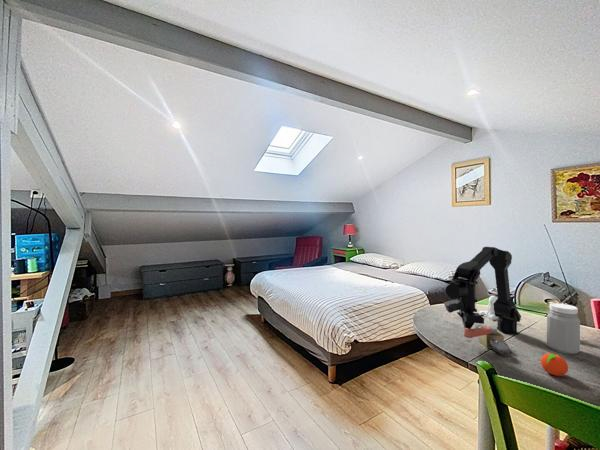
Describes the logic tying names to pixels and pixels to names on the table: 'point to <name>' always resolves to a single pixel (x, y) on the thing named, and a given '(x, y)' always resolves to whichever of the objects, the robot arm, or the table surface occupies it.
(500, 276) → the robot arm
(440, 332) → the table surface
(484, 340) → the pipe valve
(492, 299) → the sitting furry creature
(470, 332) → the lever
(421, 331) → the table surface
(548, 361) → the clementine
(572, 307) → the jar
